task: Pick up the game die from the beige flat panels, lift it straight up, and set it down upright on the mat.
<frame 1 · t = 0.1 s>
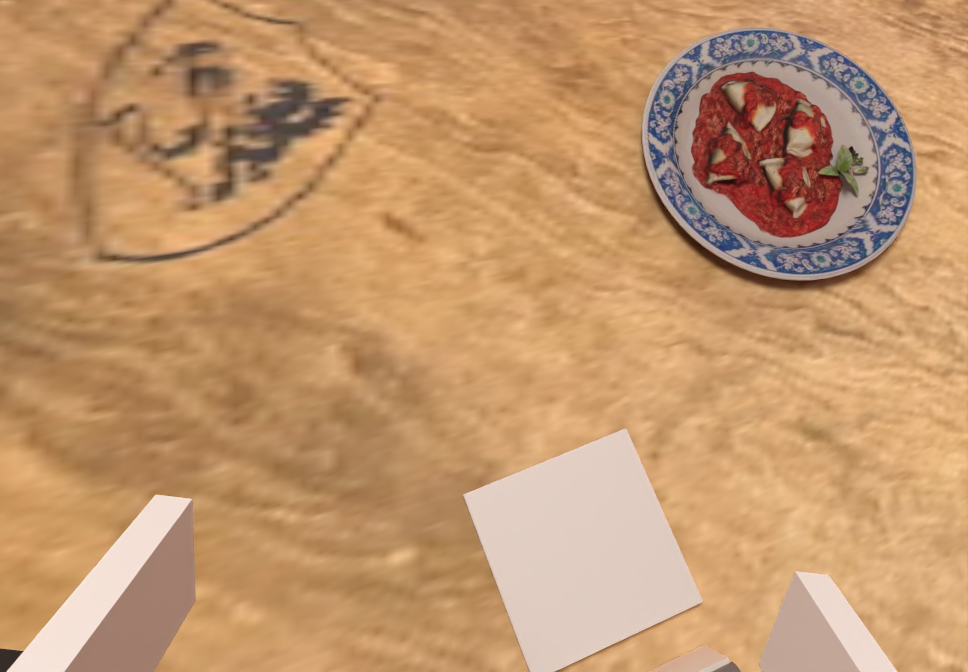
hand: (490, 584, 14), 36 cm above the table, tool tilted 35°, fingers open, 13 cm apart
ceramic plate: (767, 160, 59), on the table
mat: (579, 546, 49), on the table
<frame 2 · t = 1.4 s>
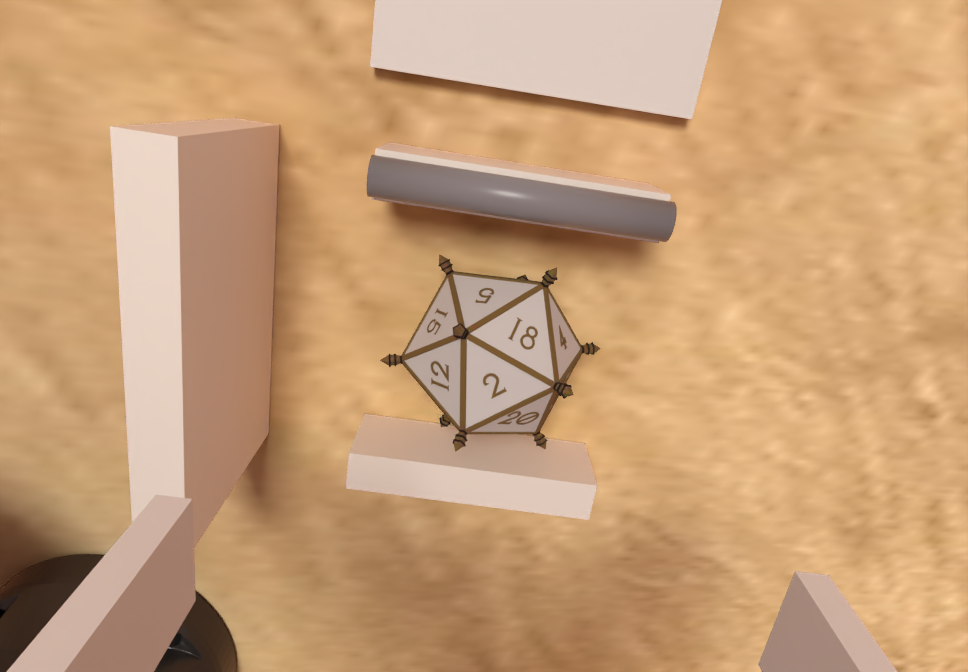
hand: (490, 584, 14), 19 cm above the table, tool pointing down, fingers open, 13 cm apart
game die: (492, 322, 32), on the table
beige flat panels: (492, 324, 32), on the table
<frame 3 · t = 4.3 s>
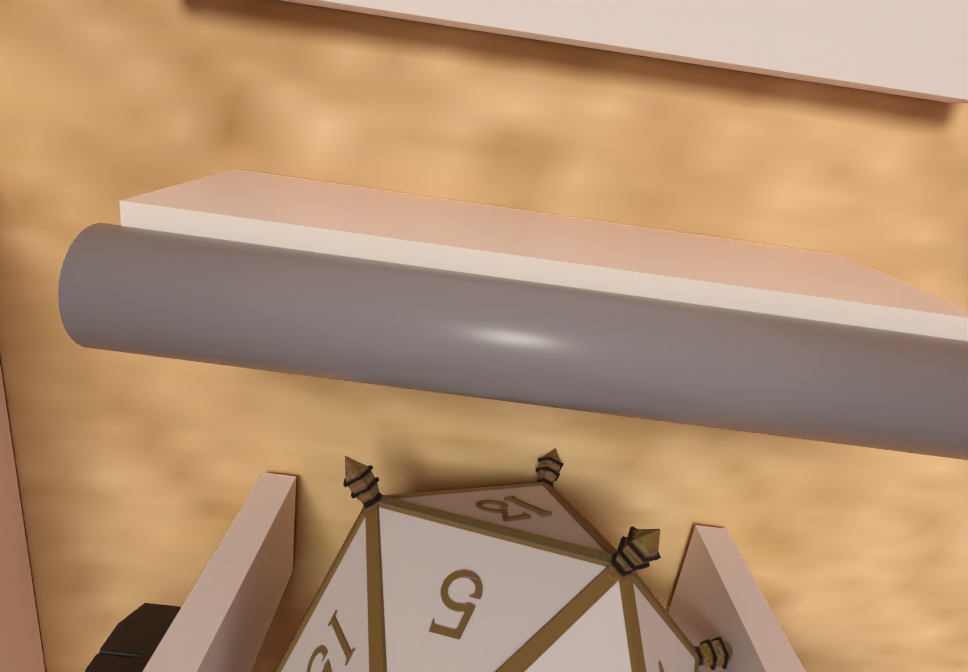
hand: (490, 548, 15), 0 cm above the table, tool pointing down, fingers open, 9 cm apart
game die: (487, 537, 15), on the table, touching gripper
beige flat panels: (487, 544, 15), on the table
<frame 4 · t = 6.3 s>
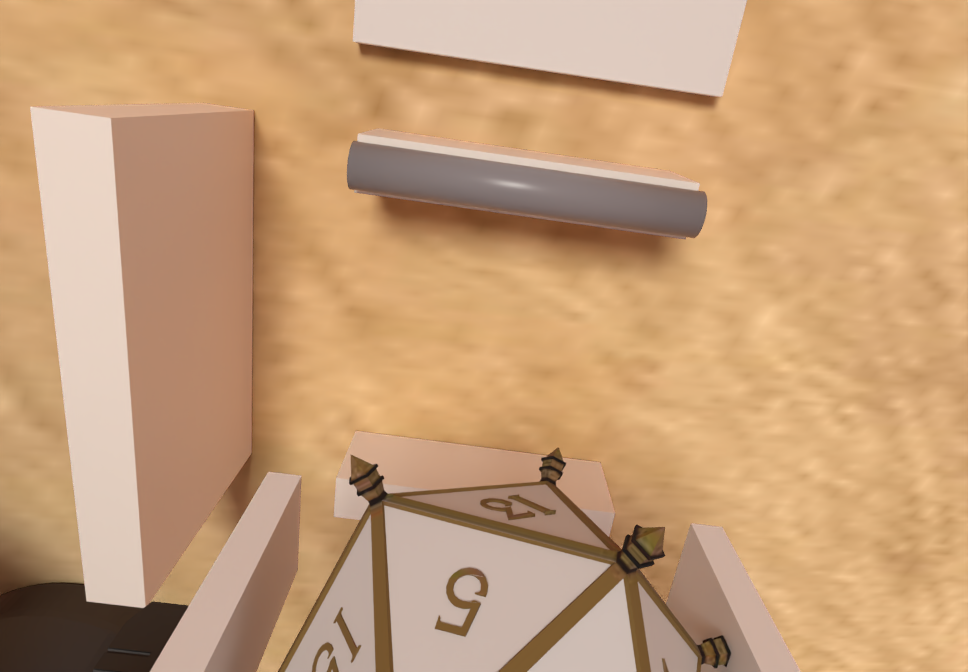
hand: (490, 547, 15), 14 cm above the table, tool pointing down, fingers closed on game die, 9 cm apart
game die: (489, 536, 15), point 14 cm above the table, touching gripper
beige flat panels: (496, 332, 28), on the table
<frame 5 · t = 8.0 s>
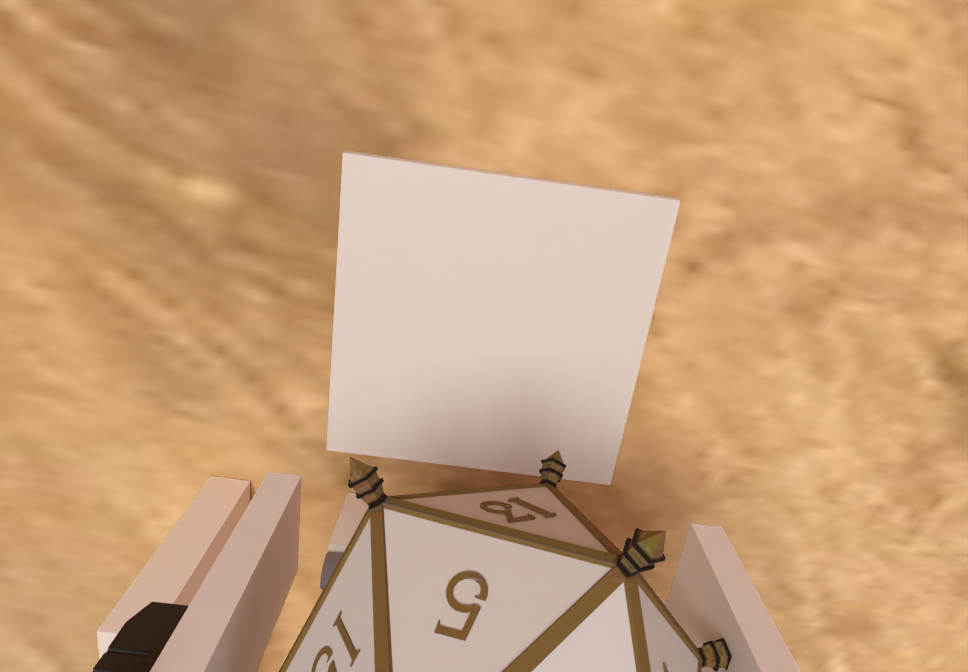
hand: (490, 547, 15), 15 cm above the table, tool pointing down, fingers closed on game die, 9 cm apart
game die: (489, 538, 15), point 15 cm above the table, touching gripper
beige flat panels: (445, 623, 35), on the table
mat: (489, 327, 29), on the table
when the fingers open (2 cm above the table, at t = 11.2 s): game die drops 1 cm, resting on mat.
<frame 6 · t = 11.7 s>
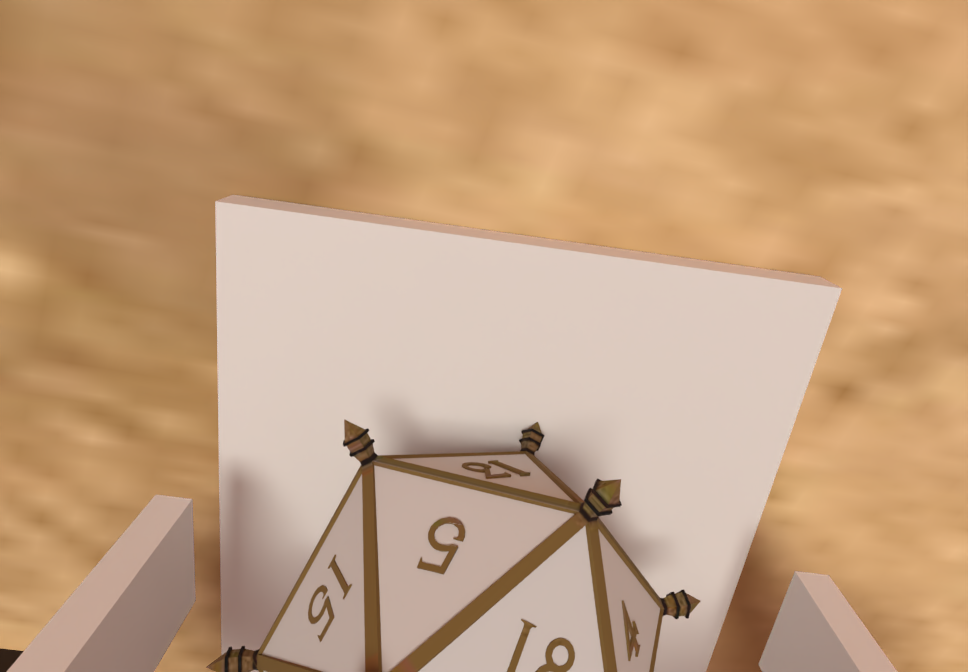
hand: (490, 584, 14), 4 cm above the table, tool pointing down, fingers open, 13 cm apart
game die: (474, 505, 17), point 1 cm above the table, touching mat
mat: (490, 486, 17), on the table
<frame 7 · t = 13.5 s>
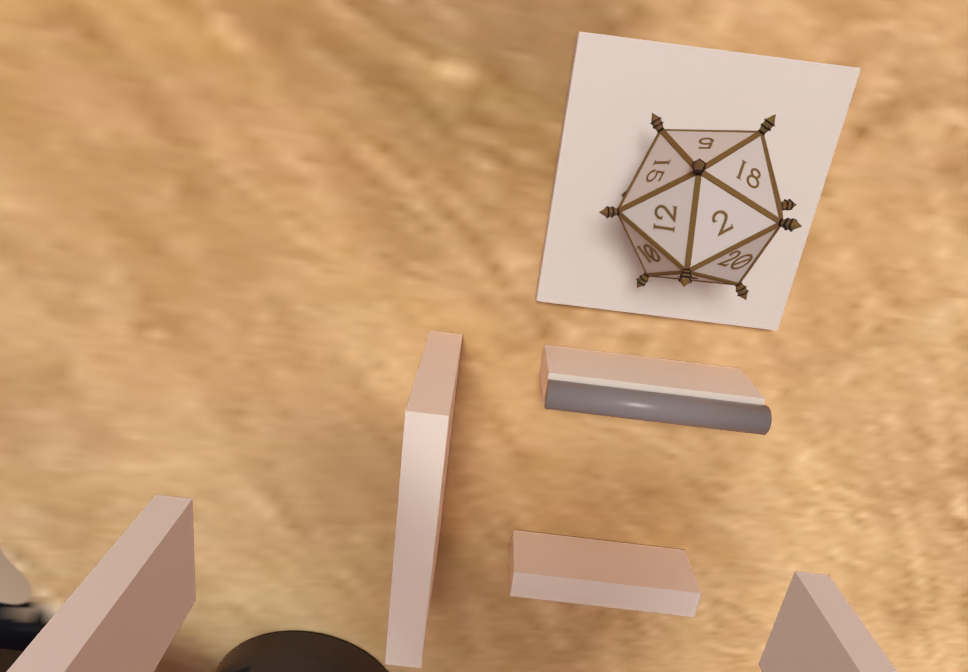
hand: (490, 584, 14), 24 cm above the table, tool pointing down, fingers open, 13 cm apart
game die: (677, 193, 34), point 1 cm above the table, touching mat
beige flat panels: (616, 466, 41), on the table
mat: (681, 190, 34), on the table
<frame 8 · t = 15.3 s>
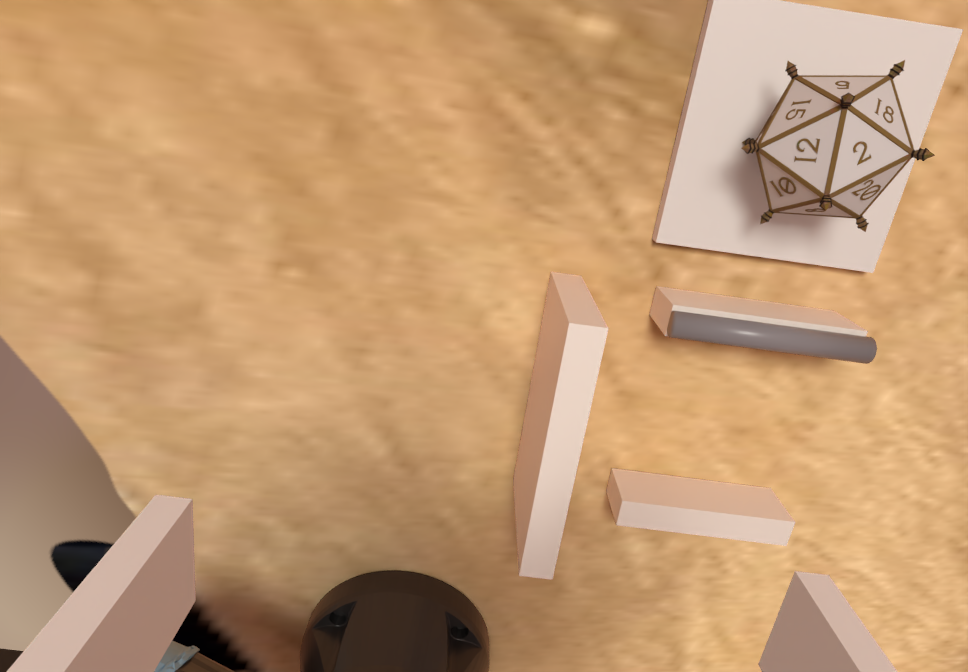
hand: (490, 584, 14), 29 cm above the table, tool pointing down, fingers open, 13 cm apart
game die: (791, 142, 37), point 1 cm above the table, touching mat
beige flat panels: (713, 405, 44), on the table
mat: (792, 141, 38), on the table
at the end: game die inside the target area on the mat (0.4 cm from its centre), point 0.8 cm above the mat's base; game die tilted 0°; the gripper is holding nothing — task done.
